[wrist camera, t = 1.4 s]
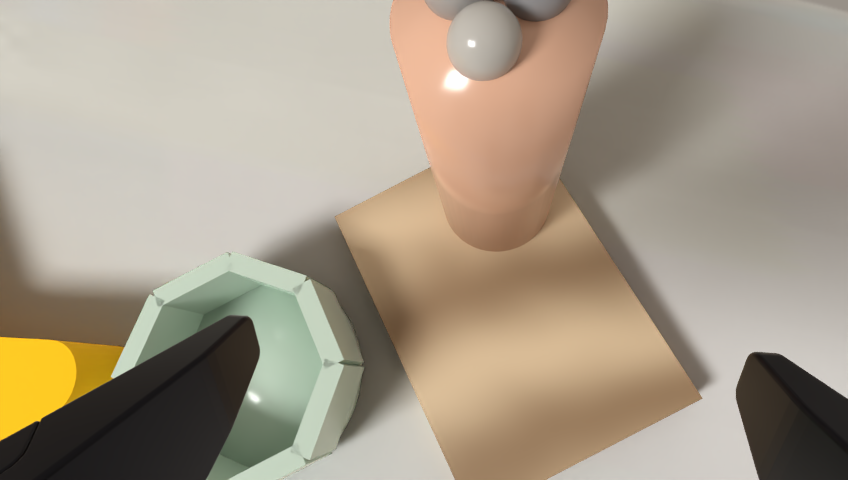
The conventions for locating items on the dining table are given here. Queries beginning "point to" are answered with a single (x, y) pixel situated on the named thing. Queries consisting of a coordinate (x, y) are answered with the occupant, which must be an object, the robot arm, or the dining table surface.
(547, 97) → the peach cylinder with balls
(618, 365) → the board
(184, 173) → the dining table surface
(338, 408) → the bowl
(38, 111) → the dining table surface
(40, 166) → the dining table surface
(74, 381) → the star
